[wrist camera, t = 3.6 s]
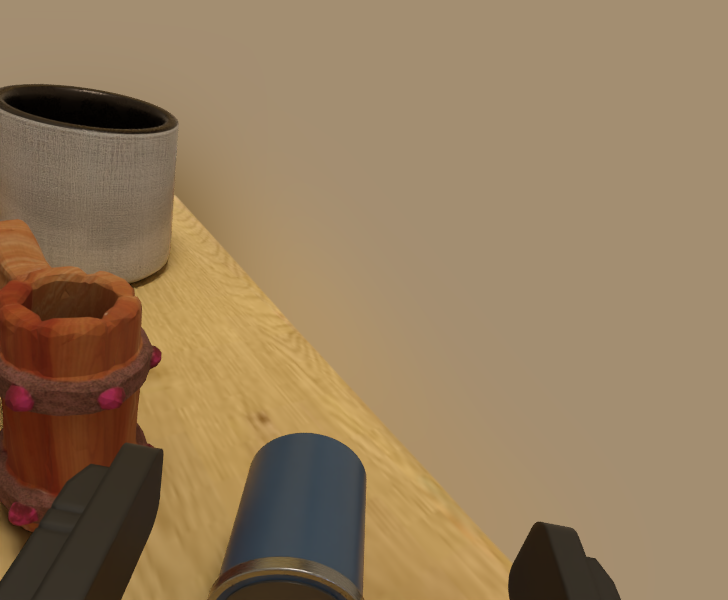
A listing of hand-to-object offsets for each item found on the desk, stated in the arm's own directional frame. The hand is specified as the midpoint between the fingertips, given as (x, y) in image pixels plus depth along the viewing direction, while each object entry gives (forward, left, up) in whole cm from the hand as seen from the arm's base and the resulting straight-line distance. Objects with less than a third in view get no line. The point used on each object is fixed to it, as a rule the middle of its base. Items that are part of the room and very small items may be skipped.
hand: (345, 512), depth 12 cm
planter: (-52, +6, -20) cm, 56 cm away
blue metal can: (-8, +6, -16) cm, 19 cm away
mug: (-23, -2, -20) cm, 31 cm away
